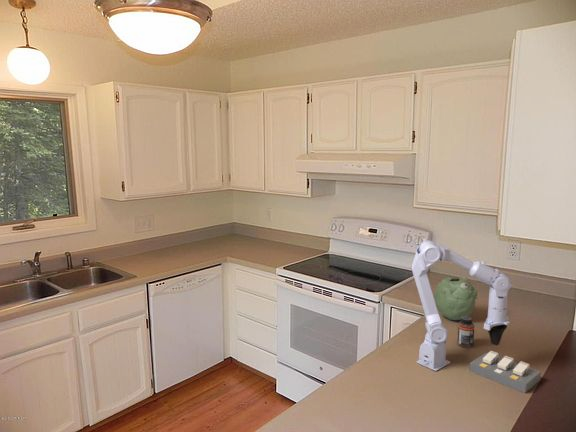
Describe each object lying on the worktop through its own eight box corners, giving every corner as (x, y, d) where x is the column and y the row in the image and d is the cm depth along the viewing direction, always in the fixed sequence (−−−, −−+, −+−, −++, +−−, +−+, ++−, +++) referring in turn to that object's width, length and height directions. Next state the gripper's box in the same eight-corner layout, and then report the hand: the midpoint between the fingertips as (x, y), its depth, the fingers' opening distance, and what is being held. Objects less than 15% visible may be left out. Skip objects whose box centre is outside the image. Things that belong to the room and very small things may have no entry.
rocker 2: (505, 370, 138) (505, 366, 138) (497, 367, 141) (497, 363, 140) (513, 361, 142) (513, 358, 142) (505, 358, 144) (505, 355, 144)
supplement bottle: (459, 340, 168) (461, 313, 167) (475, 344, 165) (477, 317, 163) (454, 345, 164) (456, 318, 162) (470, 350, 160) (472, 321, 159)
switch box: (525, 393, 131) (526, 378, 130) (469, 370, 145) (470, 357, 144) (540, 380, 138) (541, 366, 138) (485, 360, 152) (486, 347, 151)
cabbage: (438, 309, 203) (440, 269, 200) (479, 318, 191) (482, 276, 188) (426, 319, 190) (428, 277, 187) (470, 329, 179) (473, 284, 176)
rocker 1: (490, 364, 142) (490, 361, 142) (482, 361, 144) (482, 358, 144) (498, 356, 146) (498, 353, 146) (490, 353, 148) (490, 350, 148)
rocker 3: (521, 376, 135) (521, 372, 134) (513, 372, 137) (513, 369, 136) (529, 367, 138) (529, 364, 138) (520, 364, 140) (520, 360, 140)
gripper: (499, 315, 136) (497, 354, 138) (518, 305, 146) (515, 342, 147) (478, 309, 142) (476, 347, 144) (498, 300, 151) (495, 335, 153)
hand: (494, 344), depth 146 cm, fingers closed
